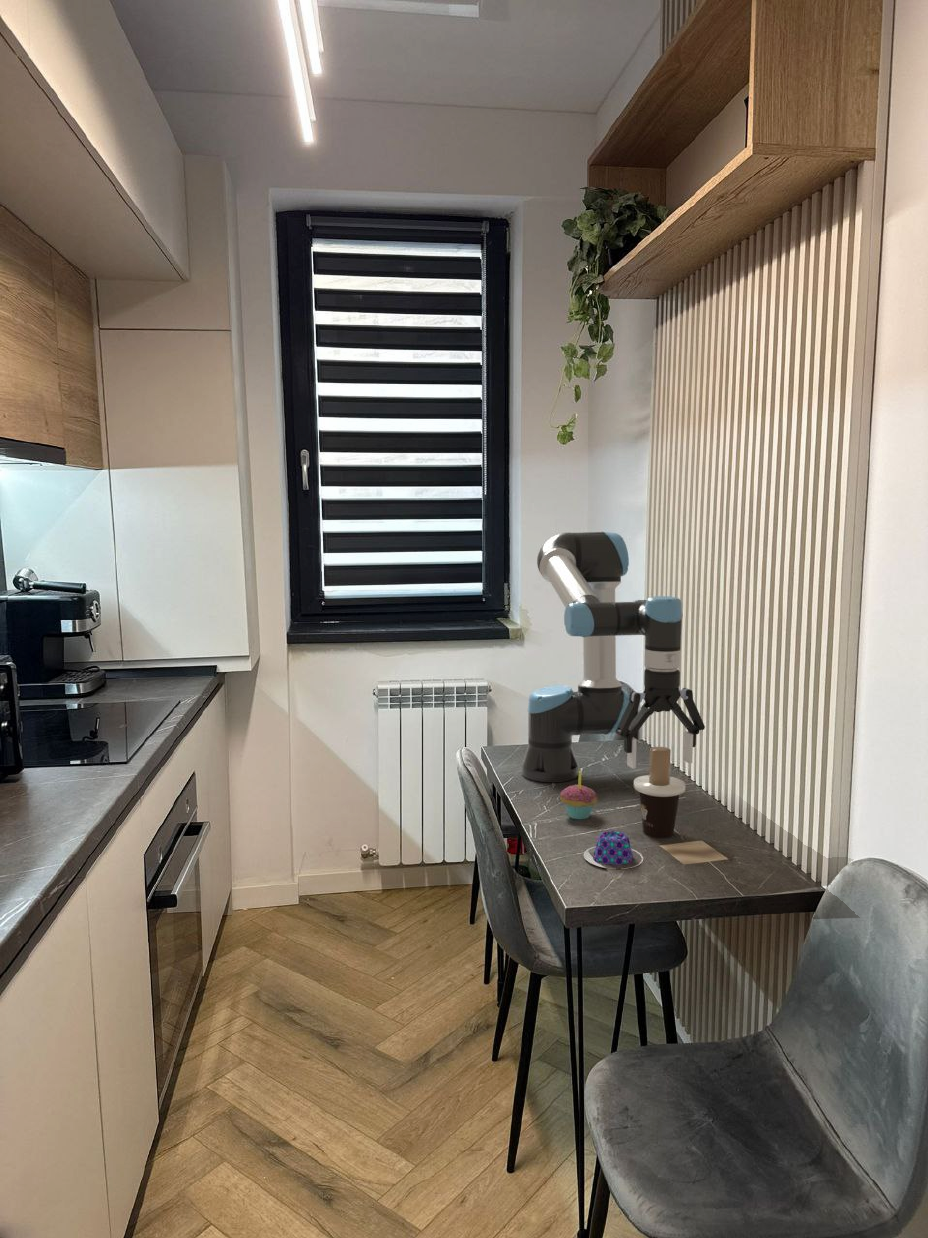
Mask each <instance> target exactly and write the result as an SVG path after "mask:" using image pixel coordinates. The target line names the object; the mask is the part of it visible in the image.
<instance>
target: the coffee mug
mask: <svg viewBox="0 0 928 1238" xmlns="http://www.w3.org/2000/svg"><path fill="white" fill-rule="evenodd" d="M638 793H639V801H640V802H639V803H640V811H641V824H642V830H643V831H642V832H643V834H644V835H646V836H647V837H650V838H655V839H668V838H671V837H673V836H674V832H675V825H676V820H677V819H676V818H677V813H678V808H679V807H678V805H679V799H680V795H676V796H653V795H647V794H644V793H641V792H639V791H638Z"/></svg>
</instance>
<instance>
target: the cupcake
mask: <svg viewBox="0 0 928 1238" xmlns="http://www.w3.org/2000/svg"><path fill="white" fill-rule="evenodd" d="M582 775H583V773H582V768H579V770H578V783H577V784H573V785H569V786H567V787H565V788H564V789H562V790H561V792H560V800H559V801H560V802H562V803H563V804H564V806H565V808H566V810H567V815H568V817H569V818H572V819H574V820H586V819H588V818H590V815H591V812H592V809H593V808H594V805H595V804H596V803H597V802H598V797H597V793H596V791H594V790H593V789H592V788H590V787H588V786H585V785H584V784H583V785H582Z"/></svg>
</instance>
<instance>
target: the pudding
mask: <svg viewBox="0 0 928 1238" xmlns="http://www.w3.org/2000/svg"><path fill="white" fill-rule="evenodd" d="M594 848H595V849H594ZM592 849H594V852H593V854H592V853H591V852H590V850H592ZM633 852H636V853H637V854H638V855H639V856H640V857H641V861H640V862H639V864H636V865H634V866H631V867H629V869H630V868H635V867H637V866H640V864H642V863H643V860H644V856H643V855H642V853H641V852H639V851H637V850H635V849H633V848H632V847H631V842H630V838H629V836H627V835H626V834H625V833H624V832H621V831H620V832H619V831H616V830H609V831H608V830H607V831H603V832H602V833H600V834H599V835H598V838H597V841H596V845H595V846H592V847H589V848H588V849H586V850H584V852H583V858H584V859H585V861H587V862H588V863H589V864H591V865H594V866H596V867H600V868H605V869H607V867H606V866H605V865H615V866H622V865H623V864H630V863H631V862H632V859H634V854H633ZM603 864H605V865H603ZM609 869H611V870H612V869H613V870H615V868H610V867H609ZM624 869H628V867H627V868H625V867H623V868H622V870H624Z"/></svg>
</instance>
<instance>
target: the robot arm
mask: <svg viewBox="0 0 928 1238" xmlns="http://www.w3.org/2000/svg"><path fill="white" fill-rule="evenodd" d="M628 552H629V551H628V547H627V545H626V542H625V539H624V538H623V537H622V535H620V533H617V532H611V531H609V532H608V531H607V532H606V531H595V532H593V531H590V532H562V533H558V534H556V535H554V536H552V537H550V538H548V540H546V541H545V542H544V544H543V545H541V547H540V549H539V551H538V554H537V557H536V565H537V569H538V571H539V573H540V575H541V577H542V578H543V579H544V580H545V581H547V582H549V583H550V584H551V586H552V588H553V589H554V590H555V592H556V594H557V595H558V597H559V599H560V601H561V603H562V604H563V606H564V607H565V608H564V614H563V621H564V627H565V631H566V633H567V634H568V636H571V637H581V638H582V642H583V643H582V644H583V647H582V649H583V652H582V655H583V656H582V657H583V678H582V679H581V680H580V681H579V682H578V683H577V691H574V690H573V688H572V687H570V686H568V685H550V686H545V687H542V688H541V687H540V688H537V689H536V690H533V691H532V692H531V693H530V694H529V697H528V706H527V712H528V716H527V717H528V720H527V721H528V723H527V725H528V727H527V730H528V733H527V737H528V738H527V741H528V742H527V744H528V745H527V748H526V752H525V754H524V757H523V761H522V764H521V775H522V776H523V777H524V778H525V779H529V780H531V781H536V782H542V783H562V782H563V783H564V782H567V781H572V780H574V779H576V778H577V777H579V765H578V762H577V760H576V759H577V758H576V756H575V752H574V750H573V745H572V744H573V741H572V740H573V736H587V735H605V736H606V735H607V736H608V735H610V734H617V735H618V736H620V737H622V738H623V751H624V752H625V753H626V766H628V767H629V768H630V769H632V770H634V769H635V770H636V769H637V741H638V740H637V738H635V737H634V736H635V735H636V734H637V733H638V731H639V730H640V729H641V728H642V726H644V724H645V723H646V721H647V720H648V718H649V717H650V716H652V715H653V714H654V713H655V712H656V713H661V712H666V713H667V712H671V711H672V713H674V715H675V716H676V717H677V719H678V720H679V721H680V723H681V724H682V725H683V726H684V727H685V729H686V731H685V730H684V731H683V741H682V742H683V746H682V747H683V748H682V760H683V762H685V763H687V764H693V753H694V751H693V750H694V748H695V747H696V745H697V735H699V734H700V731H703V730H705V728H706V726H705V723H704V721H703V719H702V716H701V714H700V713H699V710H698V708H697V705H696V702H695V701H694V693H693V690H692V689H689V688H688V687H687V688H686V687H683V688H681V689H680V688H679V687H680V685H681V671H680V670H679V668H680V667H681V648H682V647H681V645H682V622H683V621H682V620H683V610H682V608H683V606H682V605H683V604H682V603H683V602H682V600H681V599H680V598H679V597H675V596H669V595H668V596H663V595H662V596H661V595H659V596H657V595H655V596H650V597H648V598H647V599H637V600H636V599H635V600H633V601H619V602H618V601H616V589H617V587H618V586H619V585H621V583H622V578H621V577H623V576H625V575H626V574H627V573H628V570H629V566H630V565H629V564H630V559H629V553H628ZM616 636H617V637H618V636H622V637H623V636H645V637H644V667H645V669H644V670H643V671H644V675H643V685H644V691H643V692H636V691H634V690H632V691H631V692H630V696H629V694H628V692H627V691H626V690H624V689H623V687H622V685H623V684H622V683H621V682H620V681H619V680H618V679H617V677H616V676H617V674H616V673H617V671H616V670H617V669H616V667H617V665H616V664H617V663H616V662H617V660H616V659H617V658H616V654H617V651H616V646H617V645H616ZM680 698H681V699H682V701H683V704H684V706H685V708H686V710H687V712H688V715H689V717H690V718H689V717H688V716H687V714H686V713H685V712H684V711H683V709H682V707H681V706H680V704H679V703H678V701H679V700H680ZM643 700H644V703H643V704H642V705H641V707H640V704H641V703H642V702H643ZM639 707H640V710H639V711H638V709H639ZM637 711H638V713H637Z"/></svg>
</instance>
